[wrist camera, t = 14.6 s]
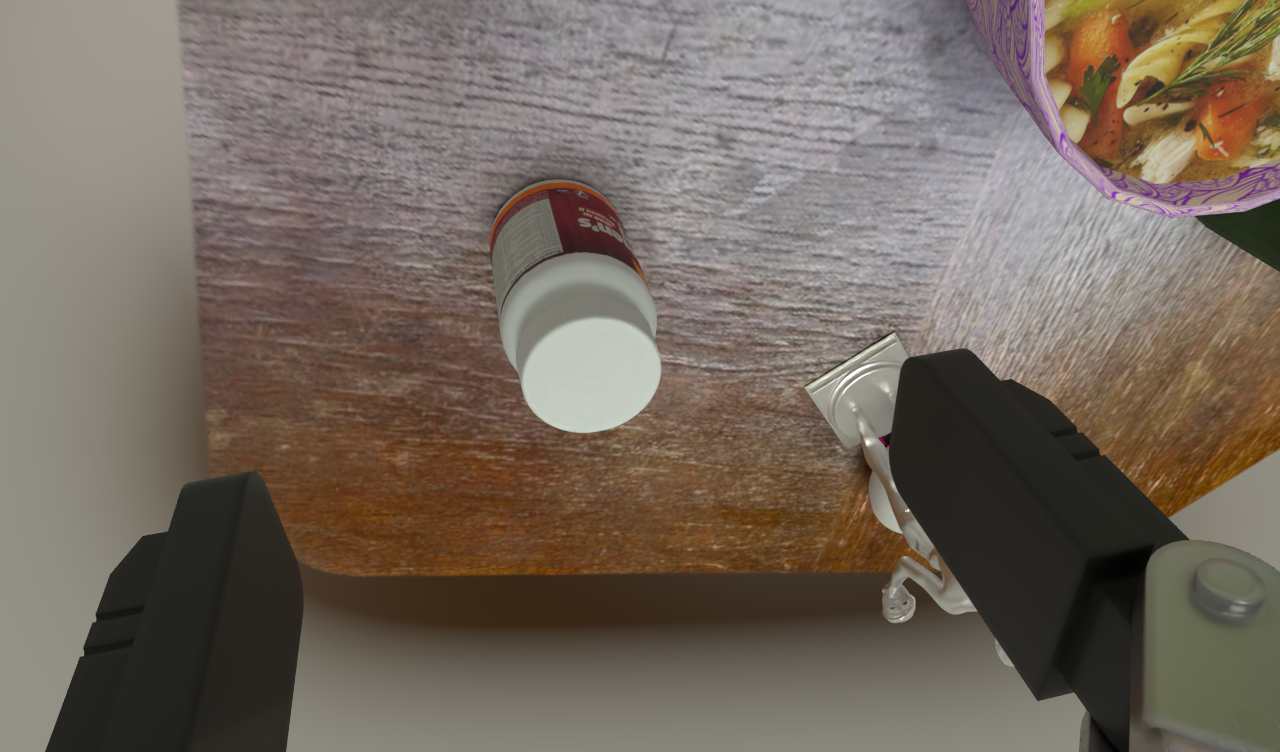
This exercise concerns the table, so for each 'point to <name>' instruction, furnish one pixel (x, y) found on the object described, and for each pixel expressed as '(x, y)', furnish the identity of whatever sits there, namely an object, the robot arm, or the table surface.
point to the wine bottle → (1251, 230)
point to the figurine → (886, 467)
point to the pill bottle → (573, 307)
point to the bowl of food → (1150, 94)
